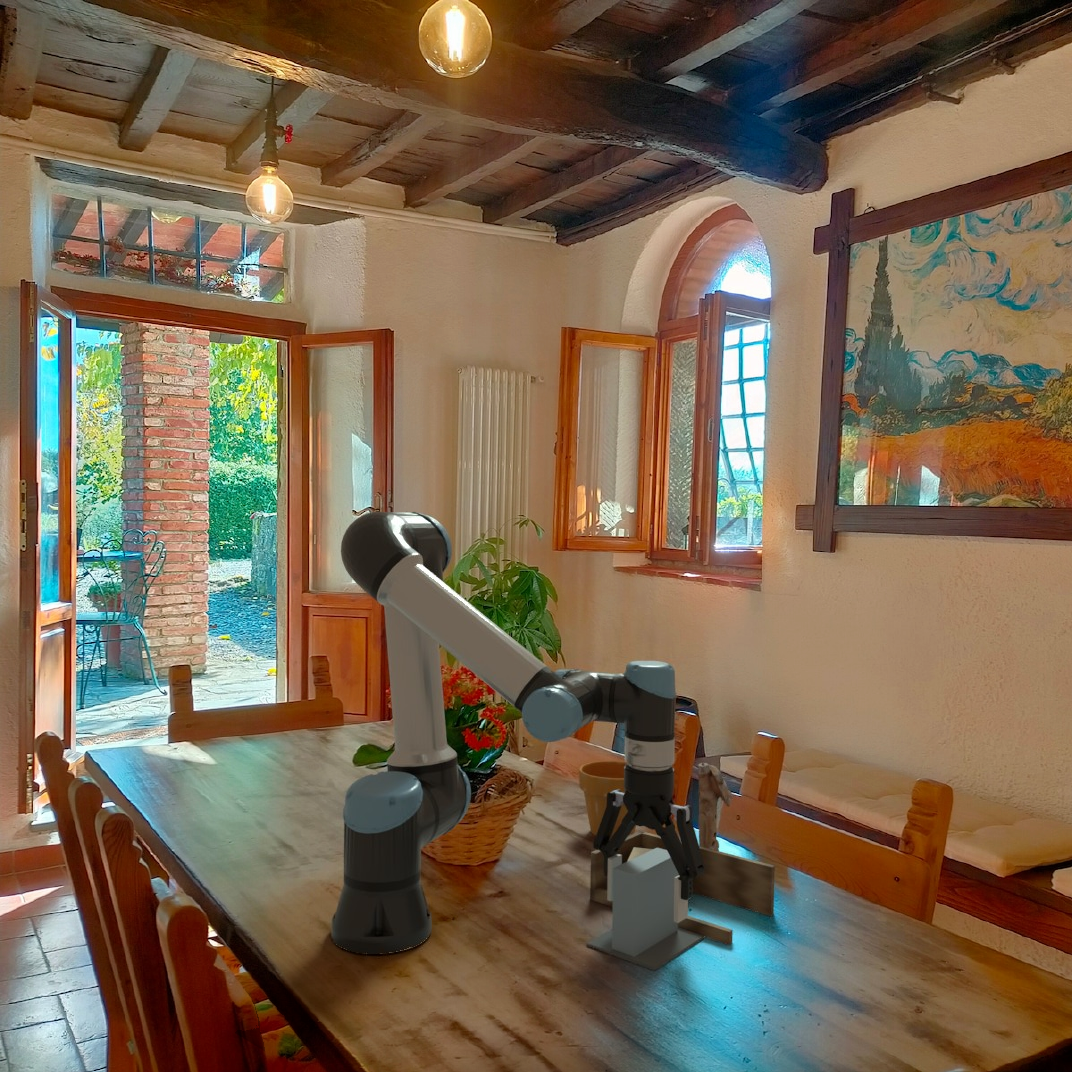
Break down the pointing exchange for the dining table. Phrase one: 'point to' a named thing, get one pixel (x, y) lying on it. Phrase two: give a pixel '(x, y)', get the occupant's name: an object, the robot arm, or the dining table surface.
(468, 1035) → the dining table surface
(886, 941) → the dining table surface
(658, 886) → the grey rectangular block
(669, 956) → the mat
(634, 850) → the offcut upper
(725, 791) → the figurine
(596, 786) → the flower pot
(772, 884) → the rack
